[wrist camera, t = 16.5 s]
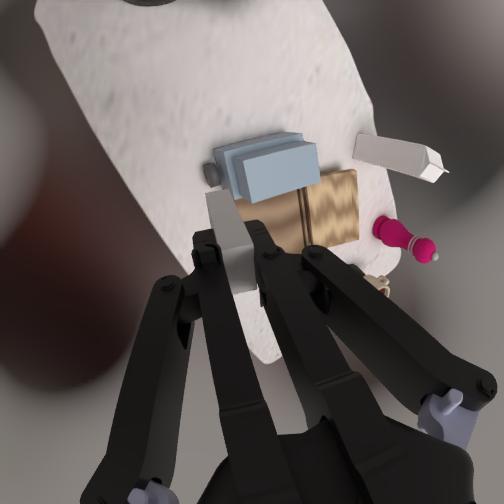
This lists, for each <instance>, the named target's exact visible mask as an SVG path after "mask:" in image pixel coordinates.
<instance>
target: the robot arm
mask: <svg viewBox="0 0 504 504" xmlns="http://www.w3.org/2000/svg"><path fill="white" fill-rule="evenodd" d="M124 1H126V2H128V3H131V4H134V5H139V6H158V5H163V4H167V3H170V2H173V1H176V0H124ZM205 195H206V201H207V207H208V213H209V219H210V224H211V229H207V230H202V231H197V232H195V234H194V235H193V237H192V239H193V247H194V249H193V250H192V253H191V255H192V259H193V263H194V267H195V269H194V271H193V272H192V273H191V274H190V275H188V276H186V277H184V278H182V279H180V278H179V277H177V276H175V275H168V276H164V277H162V278H160V279H159V280H157V281H156V283H155V284H154V286H153V289H152V292H151V294H150V297H149V300H148V303H147V306H146V308H145V311H144V314H143V317H142V320H141V323H140V326H139V329H138V333H137V336H136V339H135V342H134V346H133V348H132V352H131V355H130V358H129V362H128V365H127V369H126V372H125V376H124V379H123V383H122V387H121V390H120V394H119V398H118V402H117V406H116V410H115V414H114V419H113V423H112V427H111V432H110V436H109V442H108V446H107V452H106V455H105V456H104V458H103V459H102V461H101V463H100V464H99V466H98V468H97V469H96V471H95V473H94V475H93V476H92V478H91V480H90V481H89V483H88V484H87V486H86V488H85V489H84V491H83V493H82V495H81V498H80V504H179V501H178V498H177V496H176V495H175V493H174V492H173V491H171V490H170V489H169V487H170V485H171V481H172V478H173V474H174V468H175V462H176V452H177V443H178V435H179V426H180V418H181V411H182V403H183V395H184V388H185V382H186V375H187V368H188V362H189V356H190V349H191V343H192V337H193V331H194V325H195V320H197V319H199V318H201V317H202V319H203V326H204V331H205V337H206V343H207V349H208V354H209V360H210V365H211V370H212V375H213V380H214V385H215V390H216V395H217V399H218V404H219V418H220V422H221V427H222V431H223V436H224V440H225V444H226V448H227V452H228V456H227V457H226V458H225V459H224V460H223V461H222V462H221V463H220V465H219V466H218V467H217V469H216V470H215V472H214V474H213V476H212V478H211V480H210V481H209V483H208V485H207V487H206V488H205V490H204V492H203V494H202V496H201V497H200V499H199V501H198V503H197V504H476V502H475V500H474V494H473V476H474V467H473V462H472V460H471V457H470V456H469V454H468V453H467V452H466V448H467V445H468V443H469V440H470V438H471V435H472V432H473V429H474V426H475V423H476V420H477V417H478V413H479V411H480V410H481V409H482V408H483V407H484V406H485V405H486V404H488V403H489V402H490V401H491V400H492V399H493V398H494V397H495V395H496V393H497V383H496V379H495V378H494V376H493V375H492V374H491V373H489V372H488V371H486V370H484V369H482V368H480V367H478V366H476V365H474V364H471V363H469V362H467V361H465V360H463V359H461V358H459V357H457V356H455V355H453V354H451V353H450V352H449V351H448V350H447V349H446V348H445V347H443V346H442V345H441V344H440V343H439V342H438V341H437V340H436V339H435V338H434V337H432V336H431V335H430V334H429V333H428V332H427V331H426V330H425V329H424V328H422V327H421V326H420V325H419V324H418V323H417V322H416V321H414V320H413V319H412V318H411V317H410V316H409V315H408V314H406V313H405V312H404V311H403V310H402V309H400V308H399V307H398V306H397V305H396V304H395V303H394V302H392V301H391V300H390V299H389V298H388V297H386V296H385V295H384V294H383V293H382V292H380V291H379V290H378V289H377V288H376V287H374V286H373V285H372V284H371V283H370V282H368V281H367V280H366V279H365V278H363V277H362V276H361V275H360V274H359V273H357V272H356V271H355V270H354V269H352V268H351V267H350V266H349V265H347V264H346V263H345V262H344V261H342V260H341V259H340V258H338V257H337V256H336V255H335V254H333V253H332V252H331V251H330V250H328V249H327V248H325V247H323V246H321V245H309V246H306V247H304V248H303V250H302V254H291V253H286V252H285V251H284V250H283V249H282V248H281V247H279V246H277V245H276V244H275V242H274V241H273V239H272V237H271V235H270V234H269V232H268V230H267V229H266V227H265V225H264V223H263V222H261V221H259V220H258V219H256V220H250V221H245V222H243V220H242V218H241V216H240V213H239V211H238V209H237V207H236V205H235V202H234V200H233V198H232V196H231V194H230V191H229V189H225V190H219V191H214V192H208V193H205ZM257 284H258V287H259V293H260V305H261V307H263V306H264V309H265V311H266V314H267V317H268V319H269V322H270V324H271V327H272V330H273V332H274V335H275V337H276V340H277V343H278V345H279V348H280V350H281V353H282V356H283V358H284V361H285V363H286V366H287V369H288V371H289V373H290V376H291V379H292V381H293V384H294V387H295V389H296V392H297V394H298V397H299V399H300V402H301V404H302V407H303V410H304V412H305V416H306V422H307V426H308V430H307V431H306V432H304V433H301V434H286V435H277V432H276V429H275V426H274V423H273V420H272V417H271V414H270V411H269V408H268V406H267V403H266V401H265V400H264V397H263V395H262V392H261V388H260V385H259V382H258V379H257V376H256V372H255V369H254V366H253V363H252V359H251V357H250V353H249V349H248V346H247V343H246V339H245V336H244V333H243V329H242V326H241V323H240V319H239V316H238V312H237V309H236V305H235V302H234V298H233V294H238V293H243V292H247V291H252V290H256V289H257ZM327 326H328V327H329V328H330V329H331V330H332V331H333V332H334V333H335V334H336V335H337V336H338V337H339V338H340V339H341V341H342V342H343V343H345V345H346V346H347V347H348V348H349V349H350V350H351V351H352V352H353V353H354V354H355V355H356V356H357V357H358V359H359V360H360V361H361V362H362V363H363V364H364V365H365V366H366V367H367V368H368V369H369V370H370V371H371V372H372V373H373V374H374V375H375V377H376V378H377V379H378V380H379V381H380V382H381V383H382V384H383V385H384V386H385V387H386V388H387V389H388V390H389V391H390V393H391V394H392V395H393V396H394V397H395V398H396V399H397V400H398V401H399V402H400V403H401V404H403V405H404V406H405V407H406V408H408V409H409V410H410V411H411V412H413V413H414V414H416V415H418V423H417V425H418V428H419V429H420V430H422V431H426V432H427V433H428V434H429V435H428V434H425V433H423V432H420V431H418V430H416V429H414V428H411V427H409V426H407V425H405V424H402V423H400V422H398V421H395V420H393V419H391V418H389V417H387V416H385V415H384V414H383V413H382V411H381V409H380V407H379V405H378V403H377V401H376V399H375V397H374V396H373V394H372V392H371V390H370V388H369V386H368V385H367V383H366V381H365V379H364V378H363V376H362V375H361V374H360V373H359V372H353V371H352V370H351V369H350V367H349V366H348V363H347V362H346V360H345V358H344V356H343V354H342V352H341V350H340V349H339V347H338V345H337V343H336V341H335V339H334V338H333V336H332V334H331V332H330V330H329V329H328V327H327Z"/></svg>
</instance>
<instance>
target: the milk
mask: <svg viewBox="0 0 504 504" xmlns="http://www.w3.org/2000/svg"><path fill="white" fill-rule="evenodd" d="M353 158H354V159H357V160H360V161H363V162H366V163H369V164H373V165H377V166H380V167H384V168H388V169H391V170H394V171H398V172H401V173H405V174H408V175H411V176H414V177H417V178H420V179H423V180H427V181H429V182H432V183H434V182H435V181H436V180H437V179H438V177H439V176H440V175H441V174H442V173H443V172H444V171H445V172H448V171H447V170H445V169H443V164H442V161H441V157H440V154H438V153H437V152H435V151H434V150H432V149H430V148H429V147H427V146H425V145H421V144H416V143H411V142H407V141H401V140H396V139H391V138H385V137H379V136H372V135H365V134H358V135H357V140H356V145H355V150H354V154H353ZM448 173H449V172H448Z"/></svg>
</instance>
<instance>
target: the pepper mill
mask: <svg viewBox="0 0 504 504" xmlns="http://www.w3.org/2000/svg"><path fill="white" fill-rule="evenodd" d="M373 235H374V236H375V237H376V238H378V239H380V240H382V242H383V244H385V245H387V246H389V247H400V248H404V249H406V250H407V251H408V253H409V254H411V255H412V256H415V259H416V260H417V261H418V262H420V263H428V262H430V261H431V260H432V259H433V260H434V261H435V260H437V259H438V254H437V253H435V251H436V247H435V244H434V243H433V241H431V240H430V239H428V238H423V239H422V237H419V236H418V235H415V236H414V235H412V234H411V233H409V232H408V231H407V230H406V228H405V227H404V226H403V224H402V223H401V222H399V221H398V220H396V219H389V218H387V217H385V216H381V217H379V218H378V219H377V220H376V221H375V223H374V226H373Z"/></svg>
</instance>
